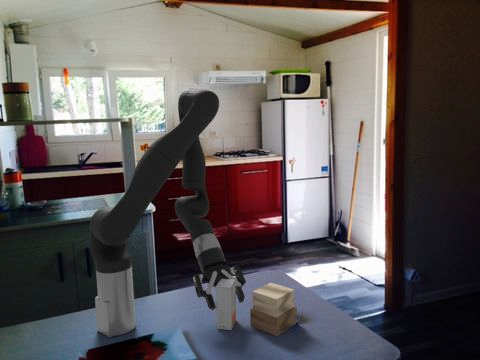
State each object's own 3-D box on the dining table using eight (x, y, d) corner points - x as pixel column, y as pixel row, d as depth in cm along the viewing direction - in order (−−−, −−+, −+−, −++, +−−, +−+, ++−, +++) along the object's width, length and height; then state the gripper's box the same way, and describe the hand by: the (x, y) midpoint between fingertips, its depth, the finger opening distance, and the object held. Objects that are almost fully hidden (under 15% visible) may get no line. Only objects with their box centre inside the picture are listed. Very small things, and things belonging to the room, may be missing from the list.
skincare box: (232, 330, 110) (230, 287, 108) (216, 329, 111) (215, 286, 109) (236, 319, 116) (235, 279, 114) (222, 318, 117) (220, 278, 115)
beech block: (276, 317, 106) (276, 299, 106) (253, 309, 112) (252, 291, 111) (294, 307, 112) (294, 289, 112) (271, 299, 118) (270, 282, 117)
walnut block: (277, 337, 107) (276, 319, 106) (250, 326, 113) (250, 309, 112) (296, 324, 113) (296, 306, 112) (270, 314, 119) (270, 298, 118)
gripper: (189, 251, 114) (207, 305, 106) (234, 242, 121) (255, 293, 112) (183, 263, 119) (200, 317, 111) (227, 255, 126) (246, 304, 118)
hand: (228, 305), depth 112 cm, fingers open, 8 cm apart
